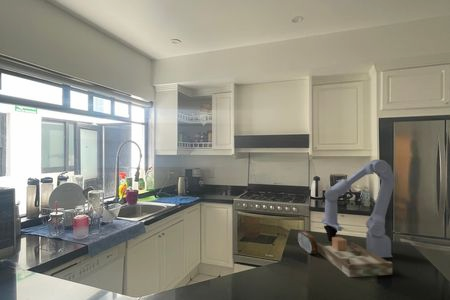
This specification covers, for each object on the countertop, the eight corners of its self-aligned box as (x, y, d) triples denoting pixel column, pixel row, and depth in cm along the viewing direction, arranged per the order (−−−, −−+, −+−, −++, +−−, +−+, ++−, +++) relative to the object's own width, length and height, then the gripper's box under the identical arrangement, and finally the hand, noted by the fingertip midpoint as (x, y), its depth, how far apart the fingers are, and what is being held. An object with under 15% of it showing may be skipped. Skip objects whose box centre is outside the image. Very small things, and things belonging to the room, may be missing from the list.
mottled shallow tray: (352, 249, 118) (352, 240, 118) (392, 274, 94) (392, 262, 94) (317, 251, 115) (317, 242, 115) (349, 277, 91) (349, 265, 92)
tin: (317, 256, 110) (317, 238, 110) (311, 257, 109) (311, 238, 109) (302, 244, 124) (302, 228, 125) (296, 244, 124) (296, 228, 124)
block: (340, 246, 115) (340, 236, 116) (346, 250, 111) (346, 240, 111) (332, 246, 115) (332, 237, 115) (337, 250, 110) (337, 240, 111)
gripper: (316, 210, 127) (316, 236, 126) (331, 217, 112) (331, 246, 112) (328, 210, 127) (328, 235, 127) (345, 217, 113) (346, 246, 113)
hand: (331, 241), depth 120 cm, fingers closed
